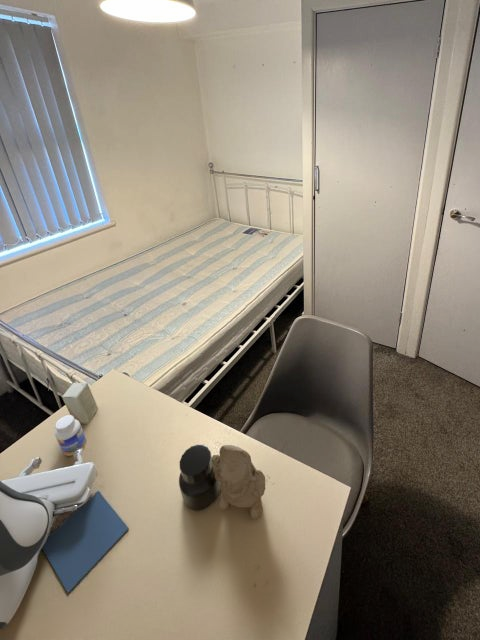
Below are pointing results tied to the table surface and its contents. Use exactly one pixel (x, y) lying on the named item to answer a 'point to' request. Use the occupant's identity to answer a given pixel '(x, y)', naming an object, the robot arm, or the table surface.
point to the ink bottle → (198, 478)
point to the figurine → (238, 480)
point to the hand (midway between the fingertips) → (59, 454)
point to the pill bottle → (69, 435)
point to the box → (80, 402)
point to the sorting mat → (83, 540)
